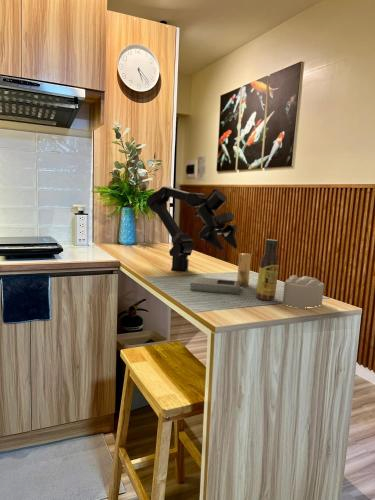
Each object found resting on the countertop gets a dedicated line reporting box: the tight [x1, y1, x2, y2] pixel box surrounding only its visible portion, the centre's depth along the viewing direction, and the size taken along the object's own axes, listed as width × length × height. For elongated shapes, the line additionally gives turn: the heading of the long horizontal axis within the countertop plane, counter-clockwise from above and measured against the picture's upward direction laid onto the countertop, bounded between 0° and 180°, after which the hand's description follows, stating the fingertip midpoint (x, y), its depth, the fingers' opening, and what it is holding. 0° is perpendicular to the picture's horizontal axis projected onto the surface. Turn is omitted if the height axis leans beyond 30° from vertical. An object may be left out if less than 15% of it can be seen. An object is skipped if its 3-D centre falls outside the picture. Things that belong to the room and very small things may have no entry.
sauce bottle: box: [255, 238, 280, 301], centre depth 123 cm, size 6×6×20 cm
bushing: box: [236, 252, 252, 288], centre depth 140 cm, size 4×4×12 cm
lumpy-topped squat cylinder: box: [282, 274, 325, 309], centre depth 120 cm, size 10×13×9 cm
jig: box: [189, 276, 241, 295], centre depth 133 cm, size 17×10×2 cm, turn 80°
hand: (229, 248), depth 144 cm, fingers open, 9 cm apart
